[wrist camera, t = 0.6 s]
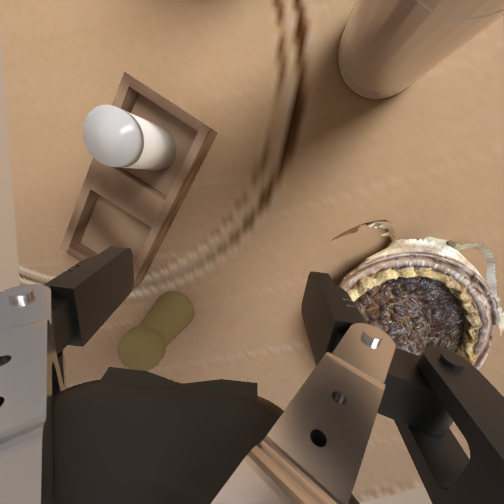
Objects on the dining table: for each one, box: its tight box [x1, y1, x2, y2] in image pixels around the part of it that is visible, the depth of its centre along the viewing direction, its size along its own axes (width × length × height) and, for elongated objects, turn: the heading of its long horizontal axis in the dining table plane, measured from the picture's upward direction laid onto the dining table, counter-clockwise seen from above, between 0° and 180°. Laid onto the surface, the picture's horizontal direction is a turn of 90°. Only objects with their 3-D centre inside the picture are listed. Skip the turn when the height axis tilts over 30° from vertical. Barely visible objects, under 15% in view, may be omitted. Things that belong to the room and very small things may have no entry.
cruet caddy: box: [60, 72, 217, 288], centre depth 32 cm, size 24×11×3 cm, turn 148°
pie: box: [331, 220, 504, 370], centre depth 32 cm, size 28×27×5 cm
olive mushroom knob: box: [118, 292, 194, 371], centre depth 33 cm, size 6×6×11 cm
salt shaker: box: [83, 105, 176, 171], centre depth 27 cm, size 5×5×9 cm
